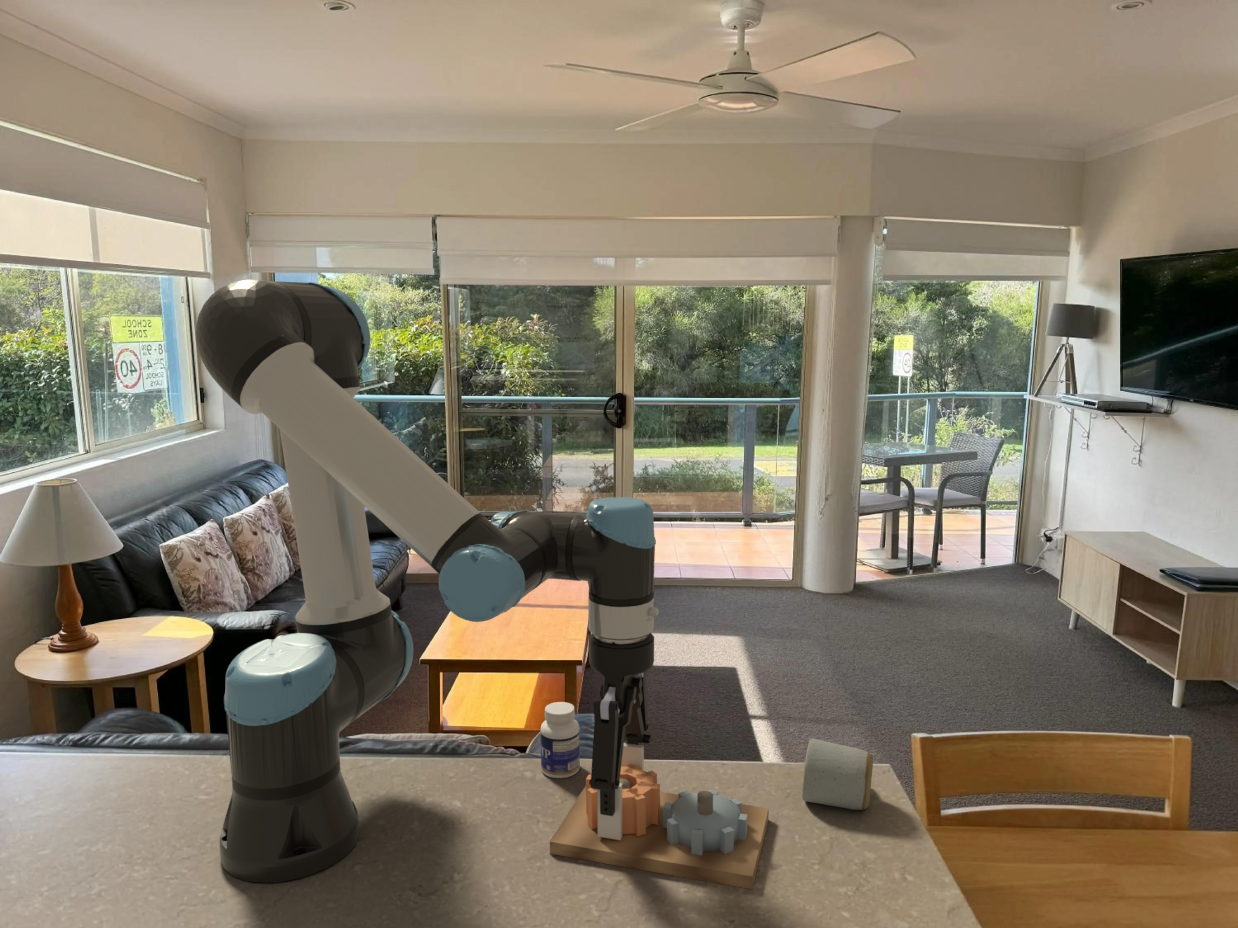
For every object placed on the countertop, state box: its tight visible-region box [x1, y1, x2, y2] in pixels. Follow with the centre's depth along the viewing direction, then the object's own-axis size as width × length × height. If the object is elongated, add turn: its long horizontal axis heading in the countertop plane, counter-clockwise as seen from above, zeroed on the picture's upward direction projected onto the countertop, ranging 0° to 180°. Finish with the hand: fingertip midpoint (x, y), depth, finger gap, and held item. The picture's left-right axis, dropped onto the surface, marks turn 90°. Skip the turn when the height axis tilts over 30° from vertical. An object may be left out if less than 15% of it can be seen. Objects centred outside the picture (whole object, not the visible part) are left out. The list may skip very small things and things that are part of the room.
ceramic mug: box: [801, 738, 874, 811], centre depth 112 cm, size 11×8×8 cm
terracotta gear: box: [585, 764, 661, 836], centre depth 105 cm, size 9×9×4 cm
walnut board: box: [549, 779, 770, 890], centre depth 104 cm, size 23×14×6 cm, turn 74°
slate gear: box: [663, 789, 747, 855], centre depth 102 cm, size 10×10×2 cm
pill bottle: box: [539, 701, 581, 779], centre depth 119 cm, size 5×5×9 cm
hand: (621, 814), depth 105 cm, fingers closed on terracotta gear, 9 cm apart
